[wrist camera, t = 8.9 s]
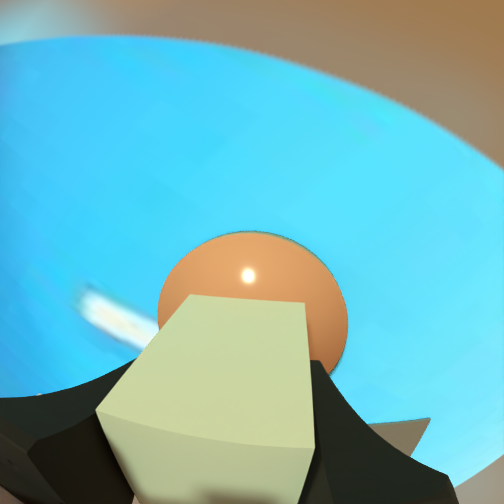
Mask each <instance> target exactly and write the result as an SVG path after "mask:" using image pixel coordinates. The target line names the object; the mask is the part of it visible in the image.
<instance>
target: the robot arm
mask: <svg viewBox="0 0 504 504" xmlns="http://www.w3.org/2000/svg"><path fill="white" fill-rule="evenodd" d="M136 359H137V358H136ZM136 359H134V360H132V361H130V362H129V363H127V364H125V365H123V366H121V367H119V368H117V369H115V370H113V371H111V372H109V373H107V374H105V375H103V376H101V377H99V378H97V379H94V380H92V381H89V382H87V383H84V384H81V385H78V386H75V387H72V388H69V389H65V390H61V391H57V392H53V393H48V394H40V393H38V394H37V395H36V396H28V397H13V398H0V504H132V502H133V498H134V495H135V494H134V492H133V491H132V489H131V487H130V485H129V483H128V481H127V479H126V478H125V476H124V474H123V472H122V470H121V468H120V466H119V464H118V462H117V460H116V457H115V455H114V453H113V451H112V449H111V447H110V444H109V442H108V440H107V438H106V435H105V433H104V430H103V428H102V426H101V423H100V421H99V418H98V415H97V413H96V408H97V407H98V406H99V405H100V403H101V402H102V401H103V400H104V398H105V397H106V396H107V395H108V393H109V392H110V391H111V390H112V388H113V387H114V386H115V385H116V383H117V382H118V381H119V380H120V378H121V377H122V376H123V375H124V373H125V372H126V371H127V370H128V369H129V367H130V366H131V365H132V364H133V362H134V361H135V360H136ZM310 372H311V386H312V402H313V419H314V441H315V449H314V453H313V456H312V459H311V463H310V466H309V469H308V473H307V476H306V479H305V482H304V485H303V488H302V491H301V494H300V497H299V500H298V503H297V504H459V502H458V500H457V497H456V494H455V491H454V488H453V485H452V483H451V481H450V479H449V477H448V475H446V474H444V473H441V472H439V471H437V470H435V469H432V468H430V467H428V466H426V465H424V464H422V463H420V462H418V461H416V460H414V459H413V458H411V457H409V456H408V455H406V454H404V453H403V452H401V451H400V450H398V449H397V448H395V447H394V446H392V445H391V444H390V443H388V442H387V441H386V440H384V439H383V438H382V437H381V436H379V435H378V434H377V433H376V432H375V431H374V430H372V429H371V428H370V427H369V426H368V425H367V424H366V423H365V422H364V421H363V420H362V419H361V418H360V416H359V415H358V414H357V413H356V412H355V411H354V410H353V408H352V407H351V406H350V405H349V404H348V402H347V401H346V400H345V398H344V397H343V396H342V394H341V393H340V392H339V390H338V389H337V387H336V386H335V384H334V383H333V381H332V380H331V378H330V377H329V375H328V373H327V372H326V370H325V368H324V366H323V364H322V363H321V362H320V361H319V360H310Z"/></svg>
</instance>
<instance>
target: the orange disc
mask: <svg viewBox="0 0 504 504" xmlns="http://www.w3.org/2000/svg"><path fill="white" fill-rule="evenodd" d="M190 294H193V295H204V296H215V297H227V298H240V299H253V300H268V301H284V302H301V303H305V313H306V324H307V335H308V346H309V358H310V360H319V361H320V362H321V363H322V364H323V366H324V368H325V370H326V372H327V373H328V374H329V373H330V372H331V371H332V369H333V368H334V367H335V365H336V364H337V362H338V360H339V359H340V357H341V354H342V352H343V350H344V347H345V343H346V339H347V332H348V314H347V309H346V304H345V301H344V298H343V296H342V293H341V290H340V288H339V286H338V284H337V282H336V280H335V278H334V276H333V274H332V273H331V272H330V270H329V269H328V268H327V266H326V265H325V264H324V263H323V262H322V261H321V260H320V259H319V258H318V257H317V256H316V255H315V254H314V253H313V252H311V251H310V250H309V249H307V248H306V247H304V246H303V245H301V244H299V243H297V242H295V241H294V240H291V239H289V238H286V237H284V236H281V235H277V234H273V233H269V232H261V231H238V232H232V233H227V234H224V235H220V236H217V237H215V238H212V239H210V240H208V241H206V242H204V243H202V244H201V245H199V246H198V247H196V248H195V249H193V250H192V251H191V252H190V253H188V254H187V255H186V256H185V257H184V258H182V259H181V260H180V261H179V262H178V263H177V265H176V266H175V267H174V268H173V269H172V271H171V272H170V274H169V275H168V277H167V279H166V280H165V283H164V285H163V287H162V290H161V294H160V297H159V302H158V325H159V331H160V330H161V328H162V327H163V326H164V325H165V323H166V322H167V321H168V320H169V319H170V317H171V316H172V315H173V314H174V313H175V311H176V310H177V309H178V308H179V307H180V306H181V304H182V303H183V302H184V301H185V300H186V298H187V297H188V296H189V295H190Z"/></svg>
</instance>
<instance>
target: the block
mask: <svg viewBox="0 0 504 504" xmlns="http://www.w3.org/2000/svg"><path fill="white" fill-rule="evenodd" d="M96 413H97V415H98V418H99V421H100V423H101V426H102V428H103V430H104V433H105V435H106V438H107V440H108V442H109V444H110V447H111V449H112V451H113V453H114V455H115V457H116V460H117V462H118V464H119V466H120V468H121V470H122V472H123V474H124V476H125V478H126V479H127V481H128V483H129V485H130V487H131V489H132V491H133V492H134V494H135V496H136V498H137V499H138V501H139V503H140V504H297V503H298V500H299V497H300V494H301V491H302V488H303V485H304V482H305V479H306V476H307V473H308V469H309V466H310V463H311V459H312V456H313V453H314V449H315V441H314V419H313V402H312V386H311V372H310V358H309V346H308V335H307V324H306V313H305V303H301V302H284V301H268V300H253V299H240V298H227V297H215V296H204V295H193V294H190V295H189V296H188V297H187V298H186V300H185V301H184V302H183V303H182V304H181V306H180V307H179V308H178V309H177V310H176V311H175V313H174V314H173V315H172V316H171V317H170V319H169V320H168V321H167V322H166V323H165V325H164V326H163V327H162V328H161V330H160V331H159V332H158V333H157V334H156V336H155V337H154V338H153V339H152V340H151V342H150V343H149V344H148V345H147V346H146V348H145V349H144V350H143V351H142V353H141V354H140V355H139V356H138V357H137V359H136V360H135V361H134V362H133V364H132V365H131V366H130V367H129V369H128V370H127V371H126V372H125V373H124V375H123V376H122V377H121V378H120V380H119V381H118V382H117V383H116V385H115V386H114V387H113V388H112V390H111V391H110V392H109V393H108V395H107V396H106V397H105V398H104V400H103V401H102V402H101V403H100V405H99V406H98V407H97V408H96Z"/></svg>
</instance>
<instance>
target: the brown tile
mask: <svg viewBox="0 0 504 504" xmlns="http://www.w3.org/2000/svg"><path fill="white" fill-rule="evenodd" d="M430 420H431V419H430V418H425V419H417V420H409V421H400V422H390V423H378V424H367V425H368V426H369V427H370V428H371V429H372V430H374V431H375V432H376V433H377V434H378V435H379V436H381V437H382V438H383V439H384V440H386V441H387V442H388V443H390V444H391V445H392V446H394V447H395V448H397V449H398V450H400V451H401V452H403V453H404V454H406V455H408V456H409V457H410V456H411V454H412V453H413V451H414V449H415V448H416V446H417V444H418V442H419V441H420V439H421V437H422V435H423V433H424V432H425V430H426V428H427V426H428V424H429V422H430Z"/></svg>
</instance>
